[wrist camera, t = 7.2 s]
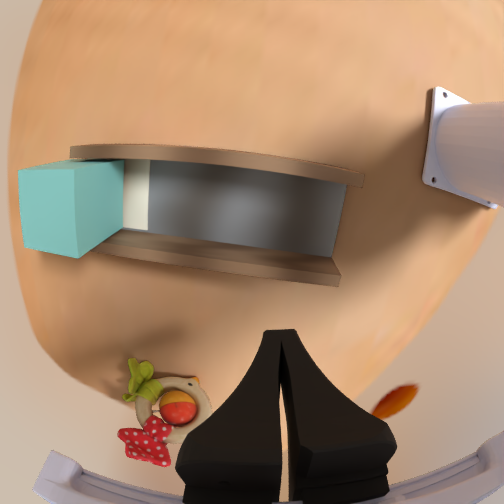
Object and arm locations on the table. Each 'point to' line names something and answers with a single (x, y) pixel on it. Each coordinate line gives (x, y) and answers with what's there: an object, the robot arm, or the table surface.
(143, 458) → the bird rattle
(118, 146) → the chute
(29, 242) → the block
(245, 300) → the table surface
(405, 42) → the table surface
